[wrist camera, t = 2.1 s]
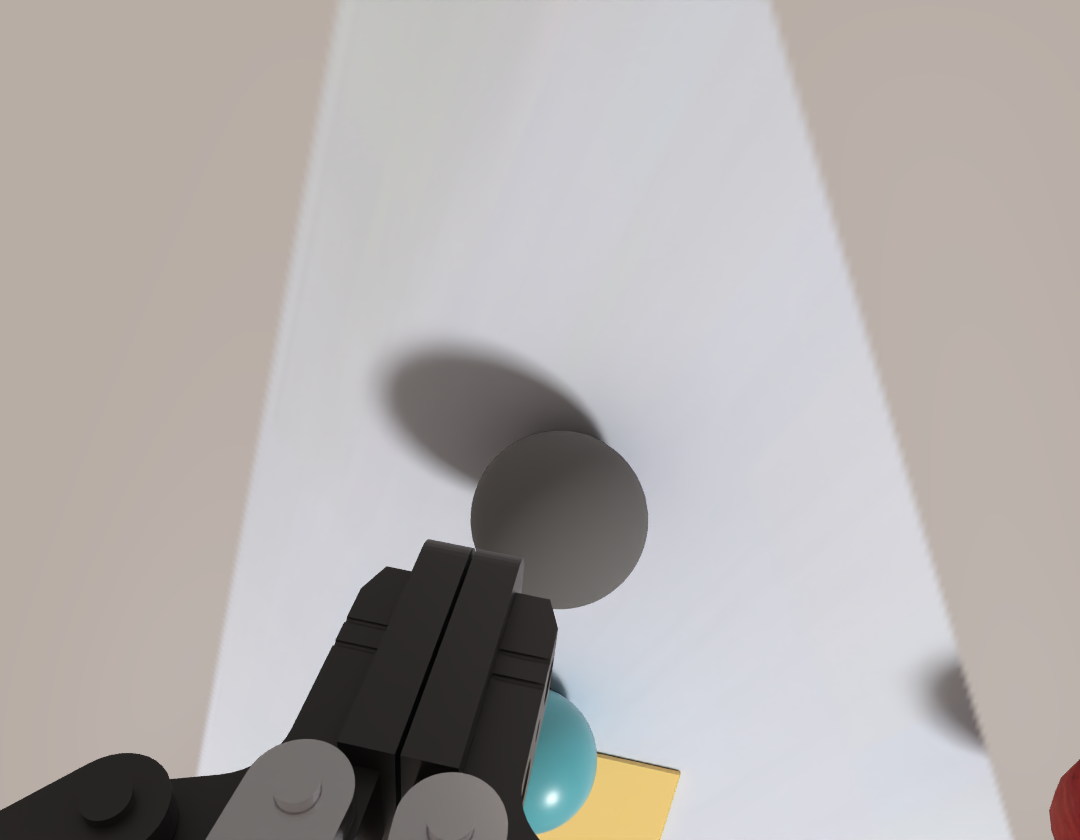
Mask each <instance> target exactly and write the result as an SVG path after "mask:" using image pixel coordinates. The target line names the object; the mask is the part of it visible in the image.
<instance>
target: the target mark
mask: <svg viewBox="0 0 1080 840" xmlns="http://www.w3.org/2000/svg"><path fill="white" fill-rule="evenodd" d="M679 778H680V772H679V771H675V770H670V769H666V768H662V767H657V766H653V765H648V764H644V763H639V762H635V761H630V760H626V759H621V758H617V757H612V756H608V755H603V754H599V753H597V770H596V776H595V780H594V784H593V787H592V789H591V792H590V794H589V796H588V798H587V800H586V801H585V803H584V804H583V806H582V807H581V808H580V810H579V811H578V812H577V813H576V814H575V815H574V816H573V817H572V818H571V819H570V820H569V821H567V822H566V823H564V824H563V825H561V826H559V827H558V828H556V829H553V830H551V831H548V832H545V833H541V834H536V835H537V837H538V838H539V839H540V840H660V839H661V836H662V833H663V829H664V826H665V823H666V820H667V817H668V813H669V810H670V807H671V804H672V800H673V797H674V794H675V791H676V787H677V784H678V781H679Z"/></svg>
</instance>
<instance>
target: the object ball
mask: <svg viewBox="0 0 1080 840" xmlns="http://www.w3.org/2000/svg"><path fill="white" fill-rule="evenodd" d="M596 770H597V750H596V744H595V740H594V736H593V733H592V731H591V728H590V726H589V724H588V722H587V721H586V719H585V717H584V716H583V714H582V713H581V712H580V711H579V710H578V708H577V707H576V706H575V705H574V704H573V703H572V702H570V701H569V700H568V699H566V698H565V697H563V696H562V695H560V694H558V693H556V692H554V691H552V690H549V695H548V699H547V704H546V708H545V713H544V717H543V722H542V725H541V730H540V735H539V739H538V744H537V748H536V752H535V757H534V762H533V766H532V771H531V775H530V780H529V784H528V788H527V793H526V797H525V802H524V806H523V810H524V813H525V816H526V818H527V821H528V823H529V825H530V827H531V828H532V830H533V831H534V833H535V834H541V833H545V832H548V831H551V830H553V829H556V828H558V827H559V826H561V825H563V824H564V823H566V822H567V821H569V820H570V819H571V818H572V817H573V816H574V815H575V814H576V813H577V812H578V811H579V810H580V808H581V807H582V806H583V804H584V803H585V801H586V800H587V798H588V796H589V794H590V792H591V789H592V787H593V784H594V780H595V776H596Z"/></svg>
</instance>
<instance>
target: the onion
mask: <svg viewBox="0 0 1080 840" xmlns="http://www.w3.org/2000/svg"><path fill="white" fill-rule="evenodd" d="M1049 811H1050V821H1051V830H1052V833H1053V836H1054V839H1055V840H1080V760H1079V761H1078V762H1077V763H1076V764H1075V765H1074V766H1072V767H1071V768H1070V769H1069V770H1068V772H1066V773H1065V774H1064V775H1063V776H1062V777H1061V779H1060V782H1059V784H1058V787H1057V789H1056V791H1055V794H1054V797H1053V801H1052V804H1051V807H1050V810H1049Z"/></svg>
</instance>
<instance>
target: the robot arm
mask: <svg viewBox="0 0 1080 840" xmlns="http://www.w3.org/2000/svg"><path fill="white" fill-rule="evenodd" d="M523 574H524V558H521V557H516V556H511V555H506V554H501V553H496V552H491V551H486V550H481V549H477V550H476V551H475V549H474V548H470V547H465V546H460V545H455V544H450V543H445V542H440V541H435V540H430V539H428V540H427V541H426V542H425V543H424V545H423V547H422V549H421V552H420V554H419V556H418V558H417V561H416V563H415V565H414V567H413V570H412V571H407V570H402V569H397V568H392V567H387V566H386V567H385V568H384V569H383V570H382V571H381V572H379V573H378V574H377V575H376V576H375V577H374V578H373V579H371V580H370V581H369V582H368V583H367V584H366V585H364V586H363V587H362V588H361V590H360V592H359V594H358V596H357V598H356V600H355V602H354V604H353V606H352V608H351V610H350V612H349V614H348V616H347V620H346V622H344V624H343V626H342V628H341V630H340V632H339V634H338V636H337V638H336V642H335V645H334V646H332V648H331V650H330V652H329V654H328V656H327V658H326V660H325V662H324V664H323V666H322V668H321V670H320V672H319V674H318V676H317V678H316V680H315V683H314V685H313V687H312V689H311V691H310V693H309V695H308V697H307V699H306V701H305V703H304V705H303V707H302V709H301V711H300V713H299V715H298V717H297V719H296V721H295V723H294V725H293V727H292V729H291V731H290V732H289V734H288V736H287V737H286V738H285V740H284V741H283V742H282V743H281V744H280V745H278V746H275V747H274V748H272V749H270V750H268V751H267V752H266V753H264V754H263V755H262V756H260V757H259V758H258V759H257V760H256V761H255V762H254V763H253V764H252V766H250V767H247V768H245V769H243V770H239V771H236V772H232V773H227V774H221V775H211V776H200V777H189V778H178V779H169V776H168V774H167V772H166V770H165V769H164V768H163V766H162V765H160V764H159V763H158V762H157V761H156V760H154V759H152V758H150V757H147V756H144V755H140V754H133V753H121V754H115V755H109V756H106V757H103V758H100V759H98V760H95V761H93V762H91V763H89V764H87V765H85V766H83V767H81V768H79V769H77V770H75V771H74V772H72V773H70V774H68V775H66V776H64V777H62V778H61V779H59V780H57V781H55V782H53V783H51V784H49V785H47V786H45V787H44V788H42V789H40V790H38V791H36V792H34V793H32V794H31V795H29V796H27V797H25V798H23V799H21V800H19V801H17V802H15V803H14V804H12V805H10V806H8V807H6V808H4V809H2V810H0V840H540V839H539V838H538V837H537V835H536V834H535V833H534V831H533V830H532V828H531V827H530V825H529V823H528V821H527V818H526V816H525V813H524V810H523V806H524V802H525V797H526V793H527V788H528V784H529V780H530V775H531V771H532V766H533V762H534V757H535V752H536V748H537V744H538V739H539V735H540V730H541V725H542V722H543V717H544V713H545V708H546V704H547V699H548V695H549V689H550V682H551V675H552V667H553V660H554V653H555V646H556V639H557V632H558V627H557V624H556V620H555V616H554V612H553V608H552V604H551V601H550V599H546V598H541V597H536V596H531V595H526V594H522V584H523Z"/></svg>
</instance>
